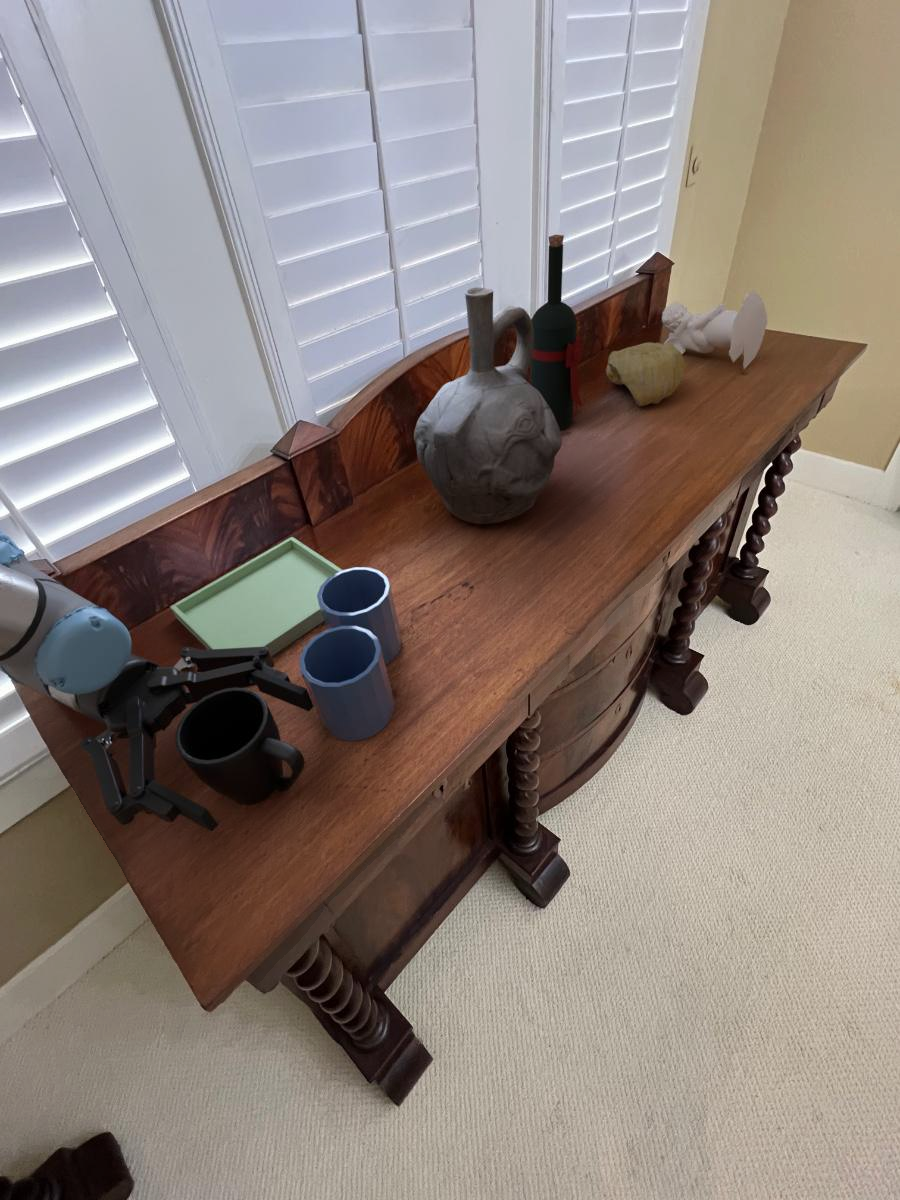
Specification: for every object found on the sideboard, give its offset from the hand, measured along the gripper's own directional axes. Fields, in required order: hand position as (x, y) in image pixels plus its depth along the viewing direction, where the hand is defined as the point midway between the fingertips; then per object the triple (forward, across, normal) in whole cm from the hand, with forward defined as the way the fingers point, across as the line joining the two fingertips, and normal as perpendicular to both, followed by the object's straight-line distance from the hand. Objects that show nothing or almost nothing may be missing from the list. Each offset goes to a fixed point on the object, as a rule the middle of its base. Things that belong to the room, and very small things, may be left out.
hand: (263, 755), depth 53 cm
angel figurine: (+18, -117, -6) cm, 119 cm away
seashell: (+10, -97, -6) cm, 97 cm away
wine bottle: (-1, -80, -6) cm, 81 cm away
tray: (-19, -21, -6) cm, 29 cm away
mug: (-1, 0, -6) cm, 6 cm away
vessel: (-1, -54, -6) cm, 54 cm away
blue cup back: (-3, -20, -6) cm, 21 cm away
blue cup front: (+2, -11, -6) cm, 13 cm away
